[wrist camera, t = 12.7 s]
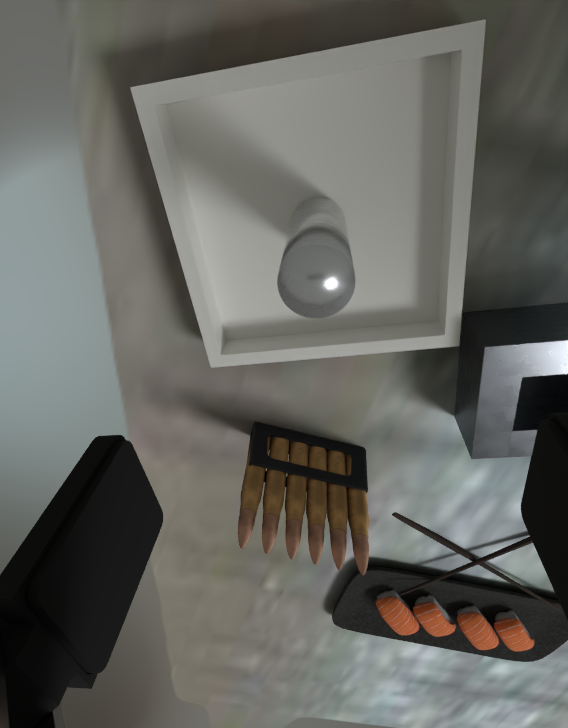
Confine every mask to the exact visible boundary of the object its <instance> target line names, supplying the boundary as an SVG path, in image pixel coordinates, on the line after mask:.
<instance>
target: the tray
mask: <svg viewBox="0 0 568 728" xmlns="http://www.w3.org/2000/svg"><path fill="white" fill-rule="evenodd" d="M485 25H486V19H485V20H480V21H475V22H469V23H464V24H459V25H454V26H448V27H443V28H438V29H433V30H427V31H422V32H417V33H412V34H407V35H401V36H396V37H391V38H386V39H380V40H375V41H370V42H365V43H360V44H354V45H349V46H344V47H339V48H333V49H328V50H323V51H318V52H312V53H307V54H302V55H297V56H292V57H286V58H281V59H276V60H271V61H265V62H260V63H255V64H250V65H245V66H239V67H234V68H229V69H224V70H218V71H213V72H208V73H203V74H197V75H192V76H187V77H182V78H177V79H171V80H166V81H161V82H156V83H150V84H145V85H140V86H135V87H130V89H131V92H132V96H133V99H134V103H135V106H136V110H137V113H138V116H139V120H140V123H141V127H142V130H143V134H144V137H145V141H146V144H147V148H148V151H149V155H150V158H151V161H152V165H153V168H154V172H155V175H156V179H157V182H158V186H159V189H160V193H161V196H162V200H163V203H164V206H165V210H166V213H167V217H168V220H169V224H170V227H171V231H172V234H173V238H174V241H175V244H176V248H177V251H178V255H179V258H180V262H181V265H182V269H183V272H184V276H185V279H186V283H187V286H188V289H189V293H190V296H191V300H192V303H193V307H194V310H195V314H196V317H197V321H198V324H199V328H200V331H201V334H202V338H203V341H204V345H205V348H206V352H207V355H208V359H209V362H210V366H211V368H212V367H224V366H236V365H247V364H259V363H271V362H282V361H294V360H305V359H317V358H329V357H340V356H352V355H363V354H375V353H387V352H398V351H410V350H421V349H433V348H445V347H456V346H459V342H460V330H461V317H462V305H463V293H464V281H465V269H466V257H467V244H468V232H469V220H470V208H471V196H472V184H473V171H474V159H475V147H476V135H477V123H478V111H479V98H480V86H481V74H482V62H483V50H484V38H485ZM317 196H320V197H327V198H329V199H331V200H333V201H335V202H336V203H337V204H338V205H339V206H340V207H341V209H342V211H343V213H344V216H345V220H346V226H347V232H348V238H349V243H350V249H351V255H352V261H353V267H354V272H355V289H354V293H353V295H352V297H351V299H350V301H349V302H348V304H347V305H346V306H345V307H344V308H343V309H342V310H340V311H339V312H337V313H335V314H334V315H331V316H328V317H325V318H307V317H304V316H301V315H299V314H296V313H295V312H293V311H292V310H291V309H289V308H288V307H287V306H286V305H285V303H284V302H283V300H282V299H281V297H280V294H279V291H278V286H277V278H278V273H279V268H280V264H281V260H282V256H283V252H284V248H285V244H286V240H287V235H288V231H289V227H290V223H291V219H292V216H293V213H294V211H295V209H296V208H297V207H298V206H299V204H301V203H302V202H303V201H305V200H306V199H308V198H311V197H317Z"/></svg>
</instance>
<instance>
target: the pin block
mask: <svg viewBox="0 0 568 728" xmlns="http://www.w3.org/2000/svg"><path fill="white" fill-rule="evenodd" d="M553 413H568V303H560V304H550V305H539V306H529V307H519V308H508V309H498V310H488V311H477V312H467V313H463V322H462V334H461V346H460V358H459V370H458V382H457V393H456V405H455V419H456V422H457V424H458V427H459V429H460V432H461V434H462V436H463V439H464V441H465V444H466V446H467V449H468V451H469V454H470V456H471V459H480V458H501V457H521V456H532V452H533V447H534V443H535V438H536V434H537V429H538V425H539V423H540V422H541V421H546V420H547V418H548V416H549V415H550V414H553Z"/></svg>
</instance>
